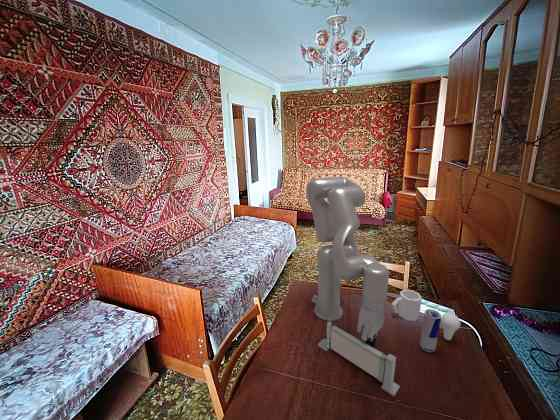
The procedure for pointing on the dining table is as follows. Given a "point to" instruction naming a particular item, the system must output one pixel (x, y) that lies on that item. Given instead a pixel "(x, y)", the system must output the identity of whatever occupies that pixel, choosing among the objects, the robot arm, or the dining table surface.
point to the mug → (408, 305)
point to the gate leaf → (358, 353)
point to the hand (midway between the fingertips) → (369, 347)
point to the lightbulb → (450, 325)
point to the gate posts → (389, 367)
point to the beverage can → (430, 330)
